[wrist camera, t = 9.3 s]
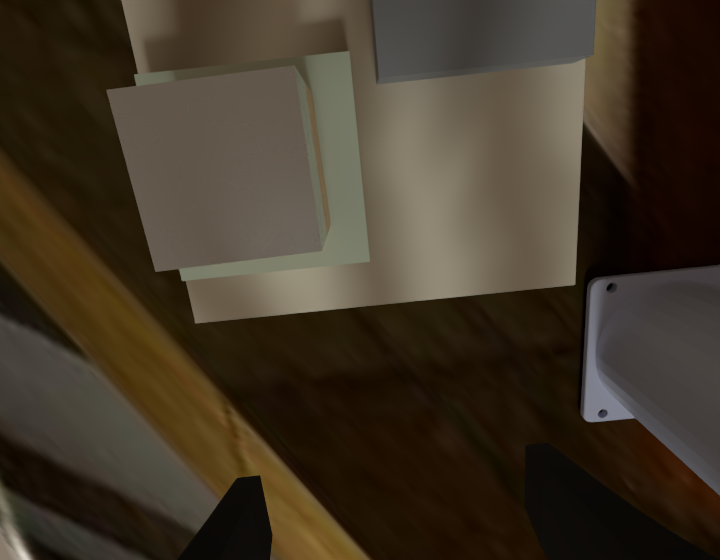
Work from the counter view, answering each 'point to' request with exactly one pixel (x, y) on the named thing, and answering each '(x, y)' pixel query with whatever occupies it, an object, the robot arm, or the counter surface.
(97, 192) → the counter surface
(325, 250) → the stand
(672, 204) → the counter surface
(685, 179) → the counter surface
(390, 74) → the stand
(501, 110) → the board
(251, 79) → the block
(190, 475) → the counter surface
